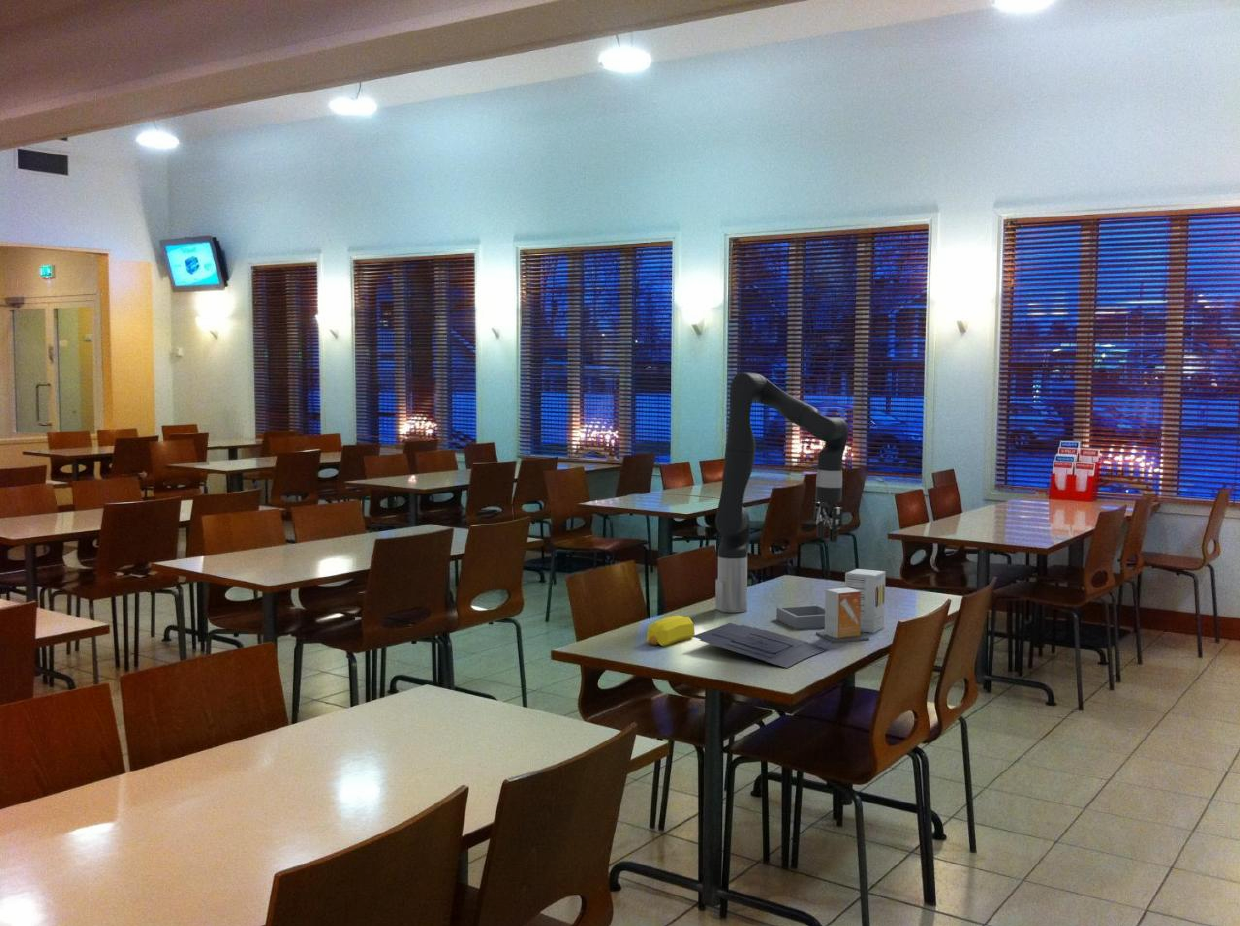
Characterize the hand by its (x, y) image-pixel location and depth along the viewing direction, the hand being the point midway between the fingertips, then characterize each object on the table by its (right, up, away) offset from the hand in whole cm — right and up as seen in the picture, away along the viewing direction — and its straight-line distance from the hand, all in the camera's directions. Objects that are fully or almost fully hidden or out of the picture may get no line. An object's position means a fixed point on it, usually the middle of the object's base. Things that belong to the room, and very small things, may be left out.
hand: (826, 539), depth 324 cm
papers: (-24, -28, -29) cm, 47 cm away
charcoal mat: (+2, -27, -14) cm, 30 cm away
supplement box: (+11, -26, -3) cm, 28 cm away
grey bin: (-5, -25, +5) cm, 26 cm away
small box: (+2, -26, -14) cm, 30 cm away
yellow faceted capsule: (-47, -28, -18) cm, 57 cm away
